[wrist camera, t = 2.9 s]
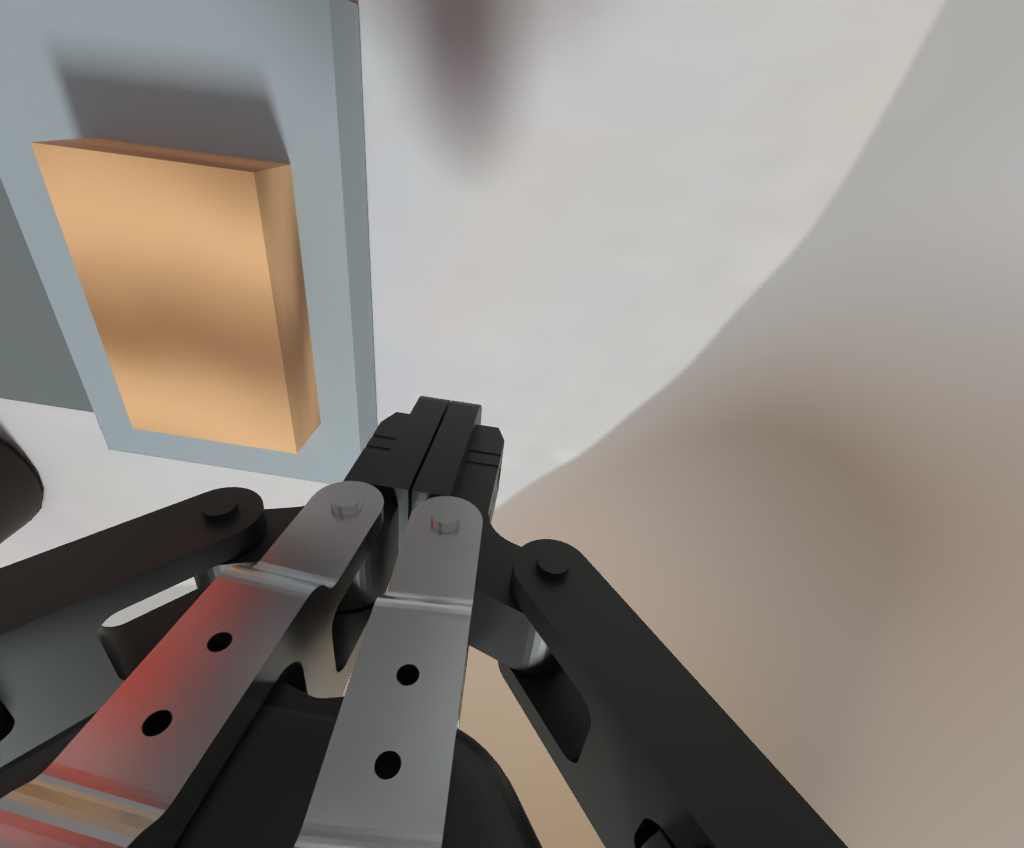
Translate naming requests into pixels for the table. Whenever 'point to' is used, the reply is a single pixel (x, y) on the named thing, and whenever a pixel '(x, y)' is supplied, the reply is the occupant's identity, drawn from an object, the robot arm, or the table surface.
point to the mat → (31, 328)
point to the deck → (216, 130)
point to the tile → (191, 286)
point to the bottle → (16, 492)
